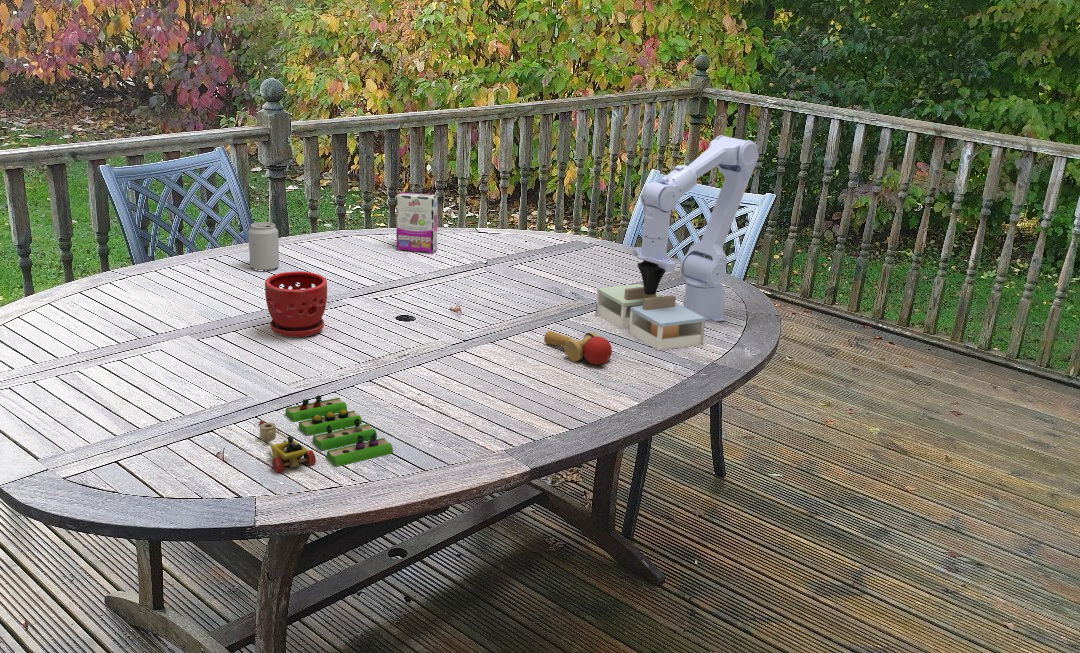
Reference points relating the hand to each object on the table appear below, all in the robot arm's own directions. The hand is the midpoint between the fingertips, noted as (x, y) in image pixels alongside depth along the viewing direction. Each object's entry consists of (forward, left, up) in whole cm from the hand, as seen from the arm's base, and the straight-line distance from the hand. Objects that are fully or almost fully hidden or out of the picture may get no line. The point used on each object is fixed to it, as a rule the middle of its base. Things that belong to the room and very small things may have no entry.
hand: (650, 293), depth 223 cm
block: (+1, +9, -8) cm, 12 cm away
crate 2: (0, +7, -9) cm, 12 cm away
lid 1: (0, -7, -3) cm, 8 cm away
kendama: (+23, +8, -9) cm, 27 cm away
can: (+71, -77, -9) cm, 105 cm away
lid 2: (0, +7, -3) cm, 8 cm away
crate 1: (0, -8, -9) cm, 12 cm away
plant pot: (+75, -26, -9) cm, 80 cm away
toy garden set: (+86, +27, -10) cm, 90 cm away
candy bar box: (+26, -83, -9) cm, 87 cm away
